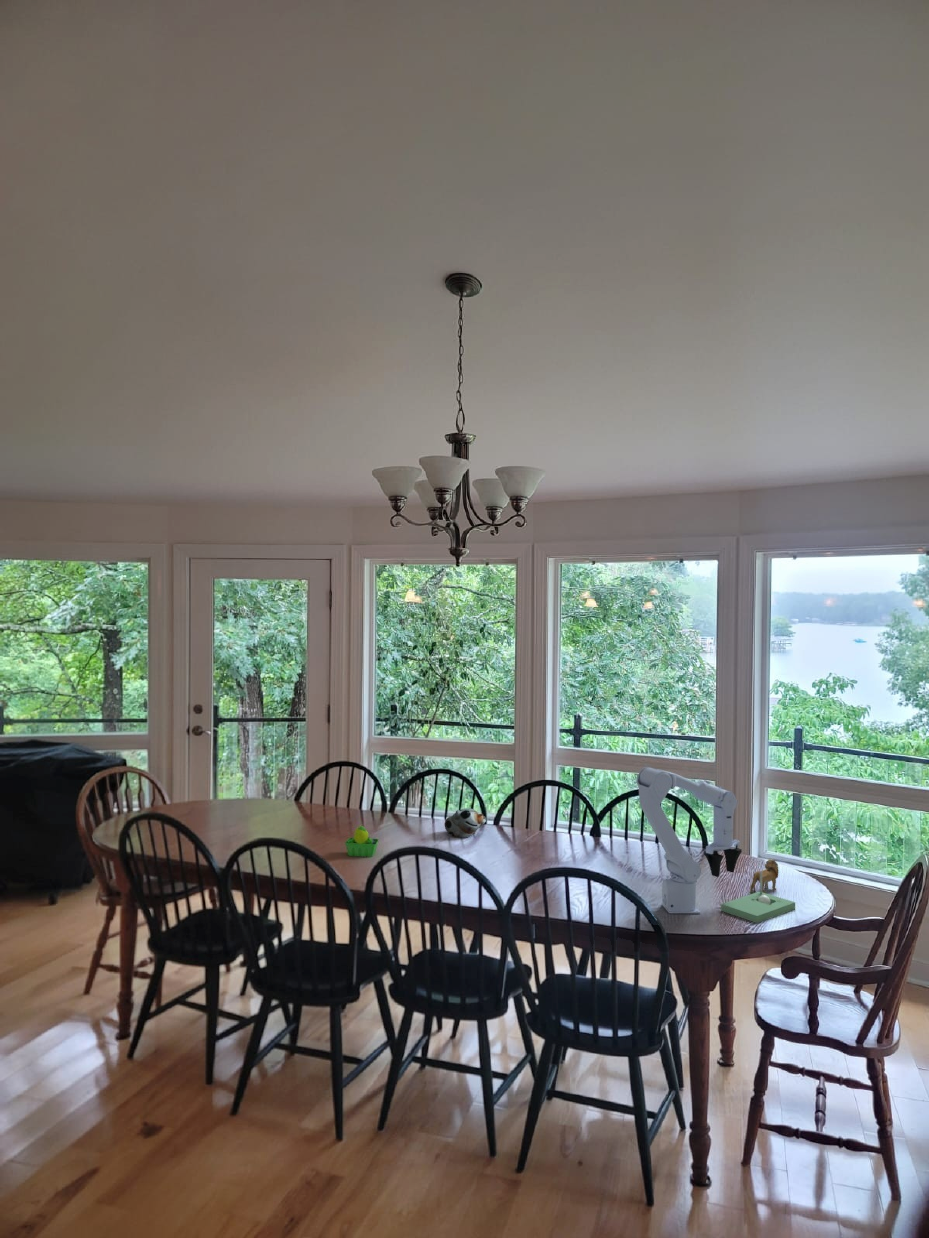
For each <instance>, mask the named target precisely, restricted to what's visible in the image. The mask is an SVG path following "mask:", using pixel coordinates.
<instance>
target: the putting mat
mask: <svg viewBox="0 0 929 1238" xmlns="http://www.w3.org/2000/svg"><path fill="white" fill-rule="evenodd" d="M765 869H766V868H765ZM765 869H763V870H759V871H760V883H759V891H757V892H756V893H750V894H747V895H745V896H744V895H743V896H742V897H741V896H740V897H738V898H735V899H732V900H729V901H726V902H723V903H721V905H720V910H721V912H724V913H727V914H730V915H733V916H736V917H739V918H742V919H745V920H746V921H747V920H748V921H751V922H753V923H757V924H758V923H761V922H764V921H766V920H769V919H772V918H775V917H777V916H781V915H783V914H785V913H788V912H791V911H794V910H796V902H795V901H792V900H789V899H785V898H782V897H779V896H777V895H776V896H775V895H772V894H769V893H767V894H766V893H763V892H762V877H765V876H767V869H766V870H765ZM762 895H766V896H768V897H769V899H770V904H766V903H762V902H759V901H758V899H759V897H760V896H762Z"/></svg>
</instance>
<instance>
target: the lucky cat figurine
mask: <svg viewBox="0 0 929 1238" xmlns="http://www.w3.org/2000/svg"><path fill="white" fill-rule="evenodd" d="M486 821H487V817H486V816H484V814H483V813H479V812H478V811H476V809H474V808H467V807H466V808H461V809H456V811H455V813H453V815H451V816H448V817H447V818H446V819H445V821H444V824H443V825H444V828H445V831H446V832H447V833H448V834H449V835H451V836H452V837H453V838H454V839H455V838H457V839H467V838H468V837H470V836H473V834H475V833H477V831H478V830H479V829H480V828H481V827H482V826H483V825H484V824H485V823H486Z"/></svg>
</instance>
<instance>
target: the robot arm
mask: <svg viewBox="0 0 929 1238" xmlns="http://www.w3.org/2000/svg"><path fill="white" fill-rule="evenodd" d="M635 783H636V785H637V787H638V797H639V799H638V800H639V806H640V808H641V810H642V812H643V813H644V815H645V817H646V819H647V821H648V823H649V825H650V827H651V829H652V830H653V831H654V833H655V836H656V837H657V839H658V841H659V843H660V844H661V846H662V848H663V850H664V852H665V853H664V855H663V858H664V859H665V862H666V863H665V865H666V869H667V871H668V872H669V874H670V875H669V876H670V877H669V878H667V879H666V878H665V879H663V880H662V884H661V885H662V886H661V887H662V888H661V889H662V891H661V892H662V894H661V895H662V896H661V897H662V898H661V899H662V901H661V906H662V907H663V908H664V909H665V910H666V912H667V913H669V914H701V911H700V910H699V908H698V907H696V906H697V904H696V903H697V902H696V901H697V900H696V899H697V897H696V896H697V895H696V894H697V893H696V892H697V890H696V888H697V887H696V886H697V881H698V880H699V878H700V877H701V874H702V868H701V865H700V864H699V863H698V862H697V861H696V860H694V859H693V856H692V855H691V854H690V853H689V852H688V851H687V850H686V849H685V848H684V846H683V845H682V843H681V841H680V839H679V837H678V835H677V833H676V832H675V830H674V828H673V827H672V824H671V822H670V821H669V819H668V816H667V815H666V813H665V811H664V810H663V807H662V806H661V803H663V801H664V799H665V798H666V796H667V794H669V791H670V790H674V789H675V788H680V789H682V790H685V791H688V792H690V793H692V795H693V797H694V798H695V799H696V800H699V801H701V802H703V803H706V804H709V805H711V806H712V807H713V818H712V819H713V823H712V824H713V829H712V830H713V832H712V834H713V835H712V837H713V839H712V840H713V841H712V842H711V843H710V844H709V845H706V846H705V850H704V854H703V855H704V856H705V858H706V860H707V863H708V866H709V868H710V873H711V876H713V877H716V878H719V877H720V874H721V873H720V872H721V864H722V861H723V858H725V869H726V871H727V872H729V873H731V874H732V873H735V869H736V865H737V863H738V860H739V857H740V855H741V854H742V852H743V851H742V848H740V847H741V841H740V840H738V839H734V815H735V809H736V808H737V806H738V800H737V798H736V795H735V793H734V792H732V791H729V790H726V789H723V787H722V786H720V785H717V786H716V785H714V784H712V783H711V781H709V780H707V779H704V780H699V781H696V782H695V781H693V780H690V779H689V778H687V777H684V776H682V775H679V774H677V773H675V772H671V771H667V770H663V769H657V768H653V767H651V766H644V767H643V768H642V769H640V770H639V772H638V774H637V777H636V780H635ZM722 851H723V853H724V855H723V854H720V853H719V852H722Z"/></svg>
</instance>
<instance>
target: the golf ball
mask: <svg viewBox="0 0 929 1238" xmlns="http://www.w3.org/2000/svg"><path fill="white" fill-rule="evenodd" d="M758 901H759V902H762V903H766V904H770V899H769V897H768V896H766V895H762V896H760V897H759V899H758Z"/></svg>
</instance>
